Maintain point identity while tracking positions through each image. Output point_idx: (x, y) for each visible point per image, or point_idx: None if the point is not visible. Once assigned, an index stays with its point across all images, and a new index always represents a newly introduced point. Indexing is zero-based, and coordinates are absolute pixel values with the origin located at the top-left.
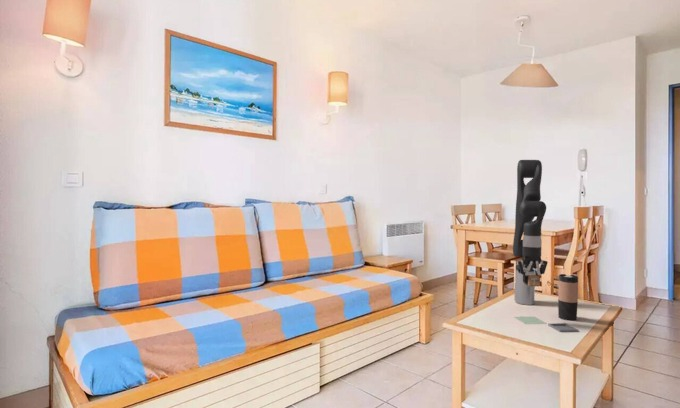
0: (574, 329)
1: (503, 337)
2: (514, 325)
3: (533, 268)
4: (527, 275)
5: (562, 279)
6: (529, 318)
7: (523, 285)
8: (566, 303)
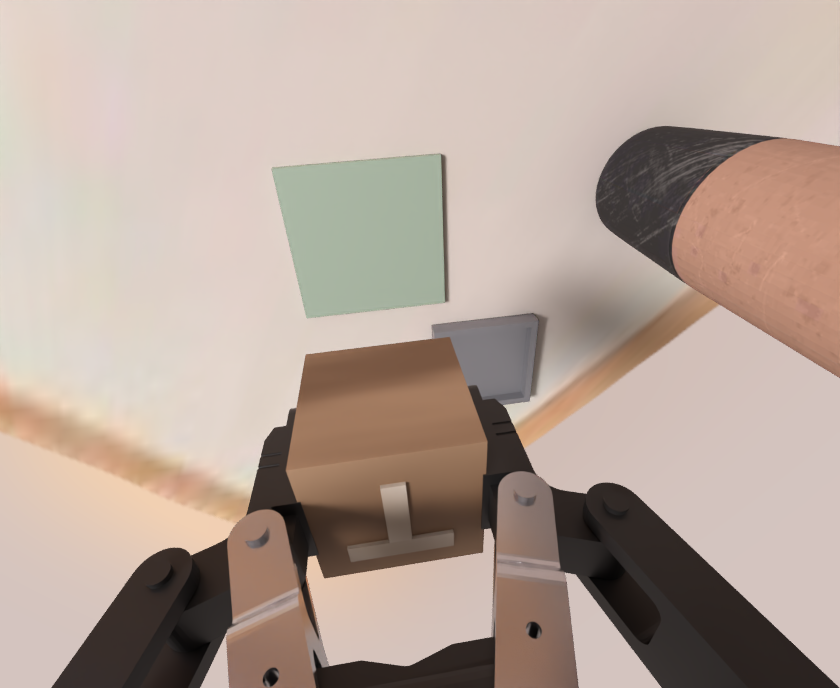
0: (512, 400)
1: (142, 474)
2: (235, 326)
3: (496, 595)
4: (319, 536)
5: None
6: (381, 205)
7: None
8: (674, 275)
